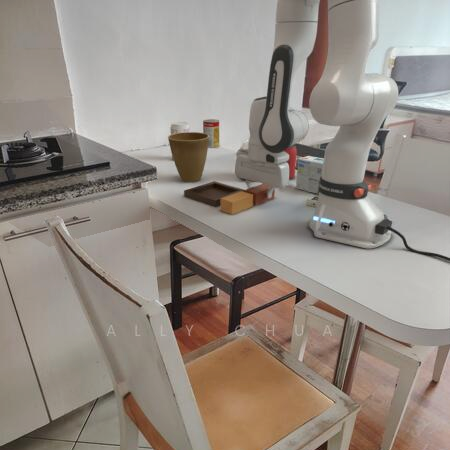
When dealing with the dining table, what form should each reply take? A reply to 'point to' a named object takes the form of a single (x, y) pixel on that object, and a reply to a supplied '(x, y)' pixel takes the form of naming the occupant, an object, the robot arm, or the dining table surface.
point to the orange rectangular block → (236, 202)
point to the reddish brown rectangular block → (259, 193)
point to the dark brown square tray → (211, 192)
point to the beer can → (291, 160)
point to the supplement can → (179, 128)
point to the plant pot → (189, 154)
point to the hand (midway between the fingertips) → (259, 195)
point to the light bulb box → (309, 173)
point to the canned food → (212, 132)
